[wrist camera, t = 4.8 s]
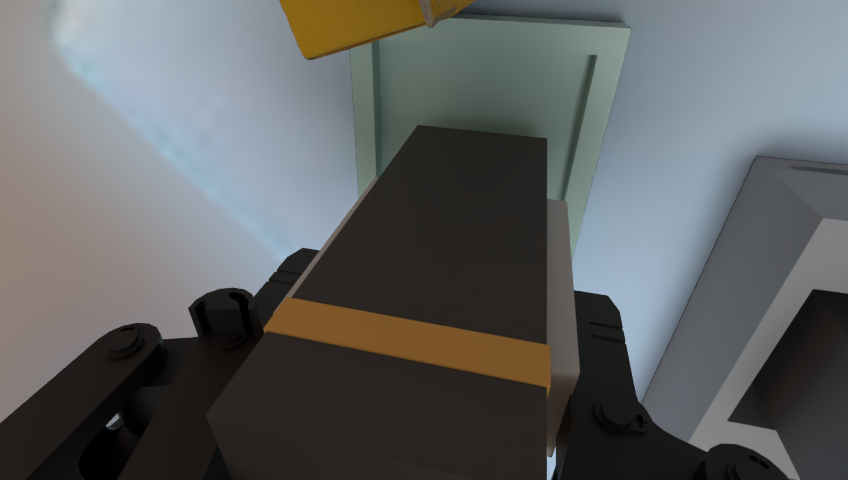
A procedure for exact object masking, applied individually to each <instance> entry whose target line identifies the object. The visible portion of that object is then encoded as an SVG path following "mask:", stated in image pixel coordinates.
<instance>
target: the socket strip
mask: <svg viewBox="0 0 848 480" xmlns="http://www.w3.org/2000/svg"><path fill="white" fill-rule="evenodd" d="M641 404H642V405H643V406H644V407H645V409H646V410H647V412H648V413H649V415H650V417H651V418H652V421H653V422H654V423H655V424H657V425H658V426H659V427H660V428H662V429H663V430H664V431H666V432H668V433H670V434H671V435H673V436H675V437H677V438H679V439H681V440H683V441H685V442H687V443H689V444H691V445H694V446H696V447H698V448H700V449H702V450H704V451H706V452H708V451H709V449H710V448H712V447H714V446H716V445H718V444H721V443H724V444H738V445H741V446H743V447H746V448H749V449H752V450H754V451H756V452H758V453H759V454H761V455H762V456H764V457H766V458H767V459H769V460H771V461H772V462H773V463H774V464H775V465H776V466H777V467H778V468H779V469H780V470H781V471H782V472H783V473H784V474H785V475H786V476H787V477H788V479H789V480H848V165H839V164H829V163H819V162H809V161H799V160H789V159H779V158H768V157H758V156H756V158H755V160H754V163H753V165H752V167H751V169H750V171H749V173H748V175H747V178H746V180H745V182H744V184H743V186H742V188H741V190H740V193H739V195H738V197H737V199H736V201H735V203H734V205H733V208H732V210H731V212H730V214H729V216H728V218H727V221H726V223H725V225H724V227H723V229H722V231H721V233H720V236H719V238H718V240H717V242H716V244H715V246H714V248H713V251H712V253H711V255H710V257H709V259H708V261H707V263H706V266H705V268H704V270H703V272H702V274H701V276H700V279H699V281H698V283H697V285H696V287H695V289H694V291H693V294H692V296H691V298H690V300H689V302H688V304H687V306H686V309H685V311H684V313H683V315H682V317H681V319H680V321H679V324H678V326H677V328H676V330H675V332H674V334H673V336H672V339H671V341H670V343H669V345H668V347H667V349H666V352H665V354H664V356H663V358H662V360H661V362H660V364H659V367H658V369H657V371H656V373H655V375H654V377H653V379H652V382H651V384H650V386H649V388H648V390H647V392H646V394H645V397H644V399H643V401H642V403H641Z"/></svg>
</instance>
